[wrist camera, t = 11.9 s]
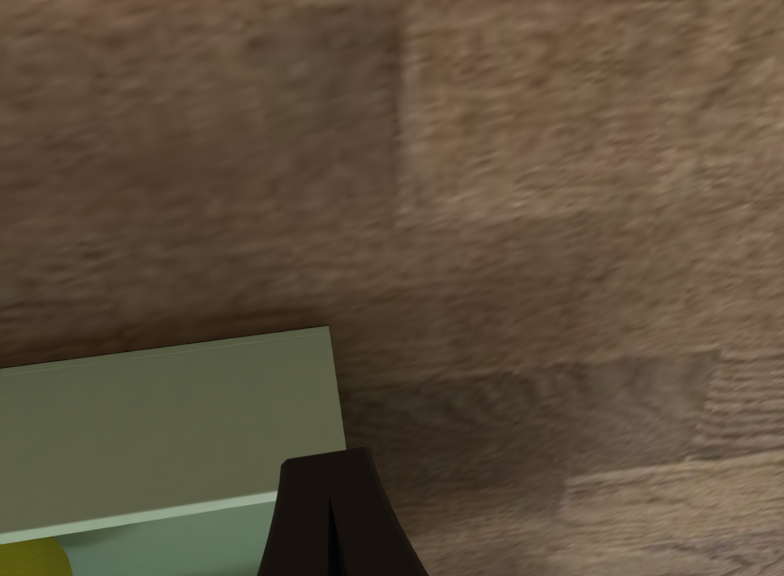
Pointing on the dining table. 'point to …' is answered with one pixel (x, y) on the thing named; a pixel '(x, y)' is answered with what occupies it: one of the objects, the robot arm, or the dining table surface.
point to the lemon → (34, 558)
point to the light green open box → (163, 450)
